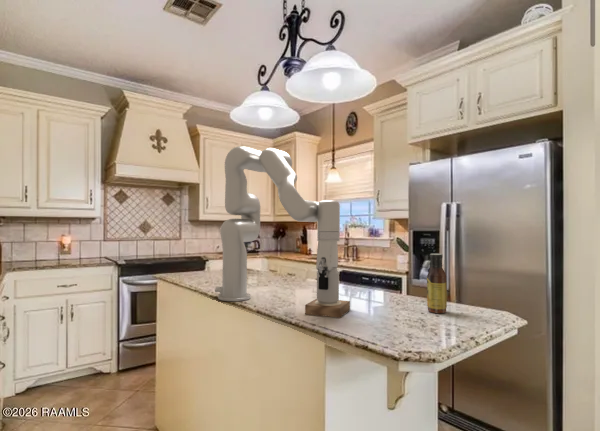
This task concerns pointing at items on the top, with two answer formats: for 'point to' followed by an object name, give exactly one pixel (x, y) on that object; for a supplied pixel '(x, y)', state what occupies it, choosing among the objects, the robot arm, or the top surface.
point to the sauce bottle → (436, 286)
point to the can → (329, 288)
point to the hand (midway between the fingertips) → (328, 287)
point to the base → (327, 308)
